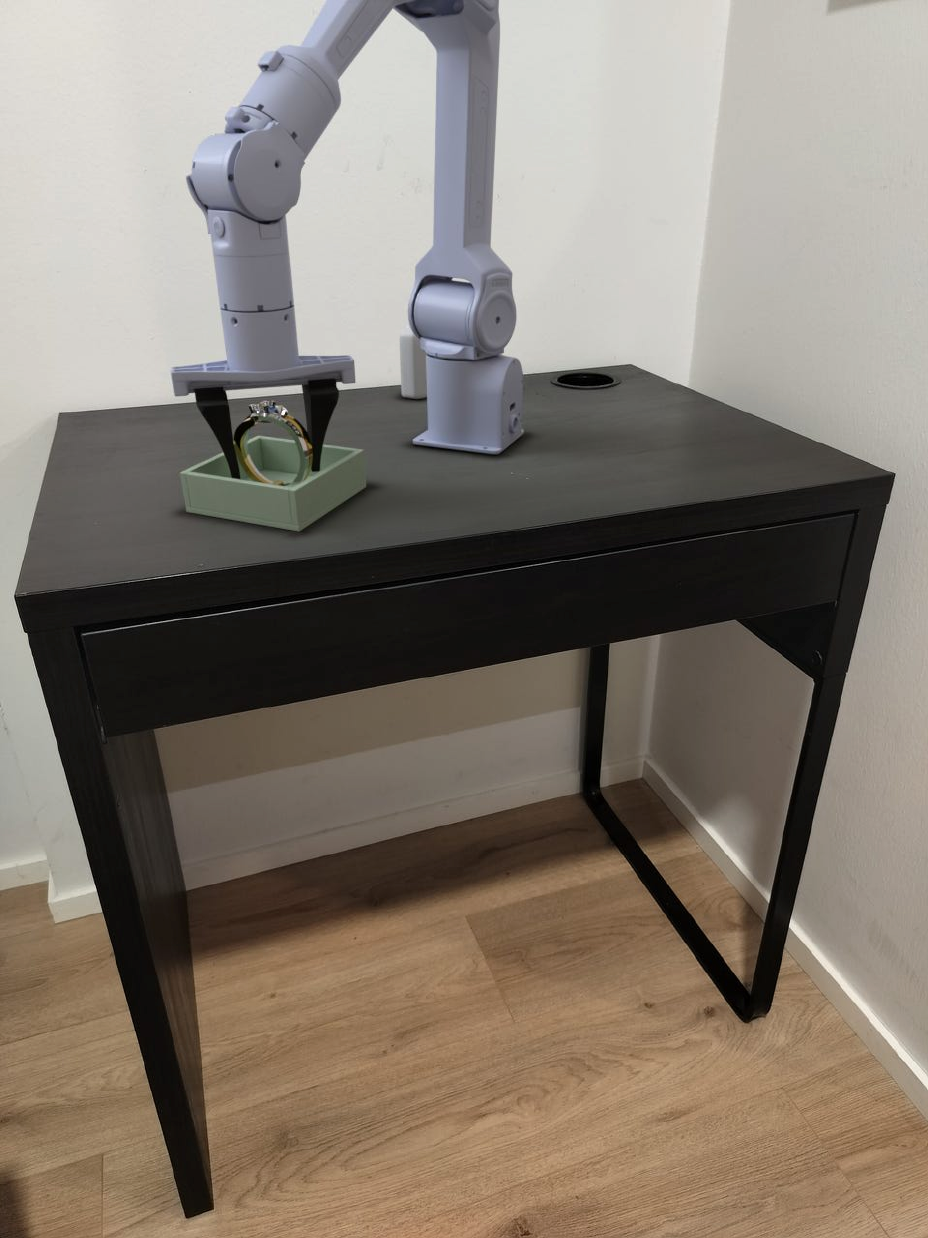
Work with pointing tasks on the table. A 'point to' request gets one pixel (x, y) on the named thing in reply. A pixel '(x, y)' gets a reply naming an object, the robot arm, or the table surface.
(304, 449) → the ring
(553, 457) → the table surface
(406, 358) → the eye dropper bottle
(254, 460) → the bin
